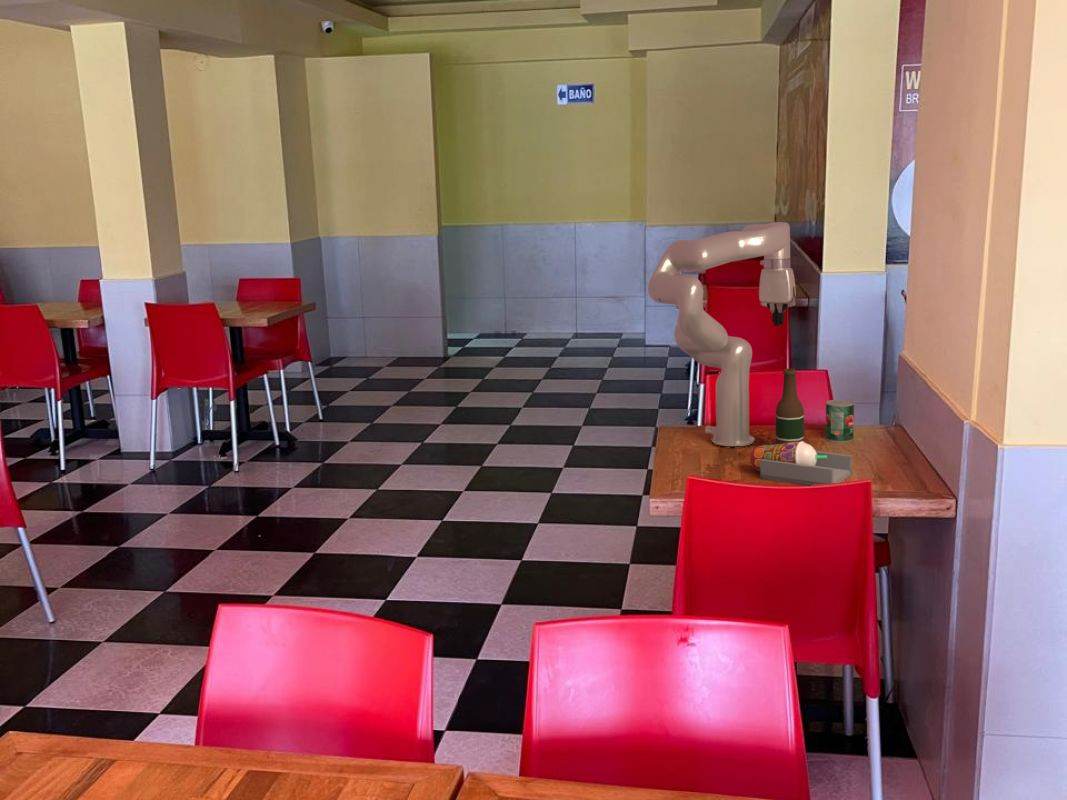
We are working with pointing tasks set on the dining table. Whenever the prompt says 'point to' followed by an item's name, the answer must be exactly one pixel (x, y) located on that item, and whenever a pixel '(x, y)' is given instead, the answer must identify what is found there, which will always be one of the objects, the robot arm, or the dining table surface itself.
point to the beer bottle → (789, 412)
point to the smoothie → (785, 454)
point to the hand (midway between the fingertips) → (778, 325)
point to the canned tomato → (839, 420)
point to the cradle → (809, 470)
